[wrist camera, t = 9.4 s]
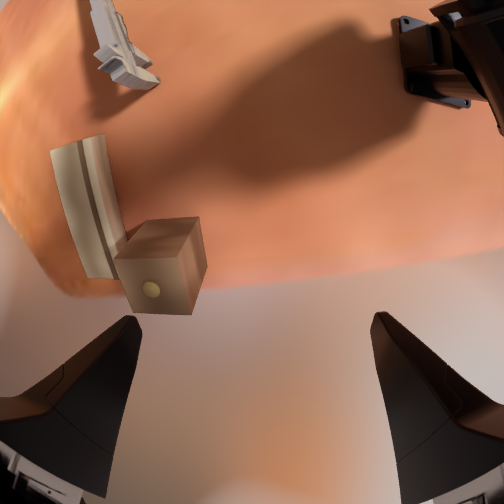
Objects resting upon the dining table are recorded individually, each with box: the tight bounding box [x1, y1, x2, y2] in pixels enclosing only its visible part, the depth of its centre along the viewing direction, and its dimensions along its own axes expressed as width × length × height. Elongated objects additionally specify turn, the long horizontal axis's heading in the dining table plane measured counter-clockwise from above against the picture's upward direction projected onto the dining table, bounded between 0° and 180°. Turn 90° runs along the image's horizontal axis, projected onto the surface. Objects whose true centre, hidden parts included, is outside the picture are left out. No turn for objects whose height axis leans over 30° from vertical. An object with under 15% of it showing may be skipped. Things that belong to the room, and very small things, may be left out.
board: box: [50, 133, 128, 279], centre depth 19 cm, size 4×12×2 cm, turn 4°
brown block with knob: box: [113, 217, 207, 315], centre depth 19 cm, size 4×4×6 cm
